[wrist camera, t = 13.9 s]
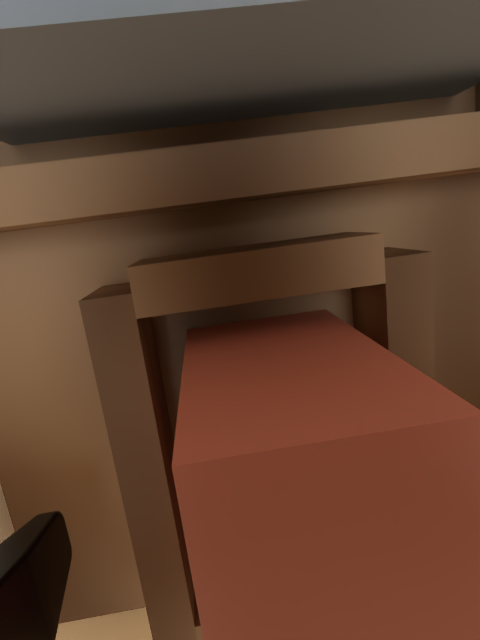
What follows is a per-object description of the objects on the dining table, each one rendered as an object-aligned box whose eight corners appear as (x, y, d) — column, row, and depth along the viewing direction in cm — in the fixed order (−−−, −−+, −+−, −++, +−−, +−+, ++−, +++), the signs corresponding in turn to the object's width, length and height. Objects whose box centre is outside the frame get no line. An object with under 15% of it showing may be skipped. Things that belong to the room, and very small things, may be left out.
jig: (495, -266, 9) (648, -520, 6) (485, 511, 14) (569, 593, 11) (-172, -231, 8) (-397, -510, 5) (57, 590, 13) (12, 706, 10)
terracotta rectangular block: (325, 309, 10) (485, 414, 5) (341, 513, 12) (480, 793, 6) (186, 329, 10) (171, 466, 4) (219, 535, 12) (241, 849, 6)
